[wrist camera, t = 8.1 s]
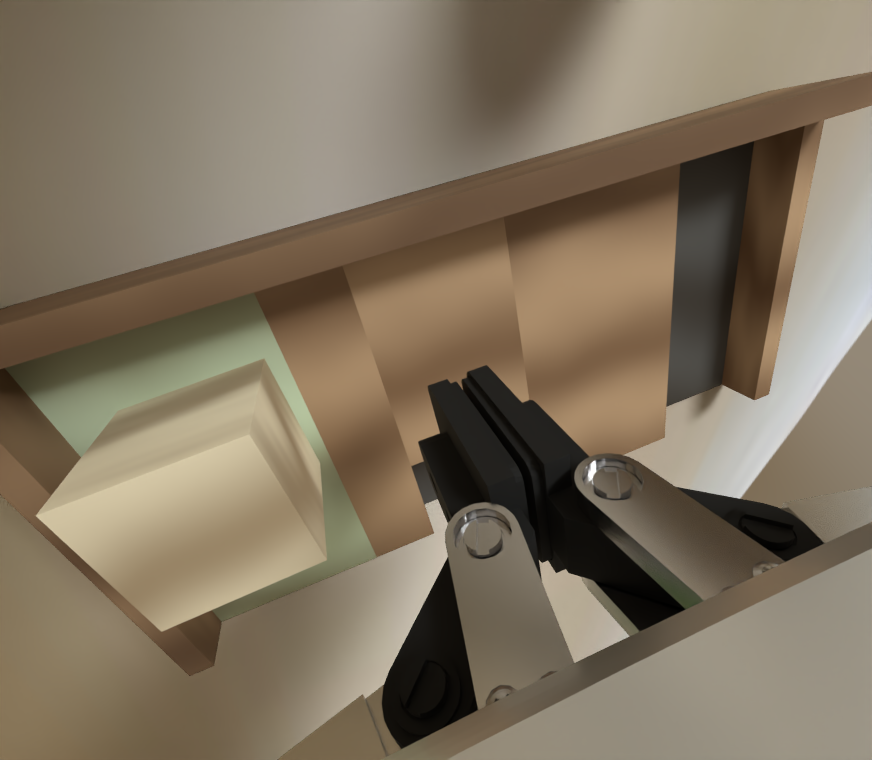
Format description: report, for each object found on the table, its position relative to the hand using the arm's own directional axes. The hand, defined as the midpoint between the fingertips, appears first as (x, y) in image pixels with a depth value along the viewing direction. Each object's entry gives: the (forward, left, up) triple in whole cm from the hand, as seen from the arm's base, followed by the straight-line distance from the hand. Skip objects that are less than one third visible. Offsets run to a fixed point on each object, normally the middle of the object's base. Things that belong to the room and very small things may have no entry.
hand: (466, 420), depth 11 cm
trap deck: (+3, +3, -8) cm, 9 cm away
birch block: (+1, -8, -6) cm, 9 cm away
